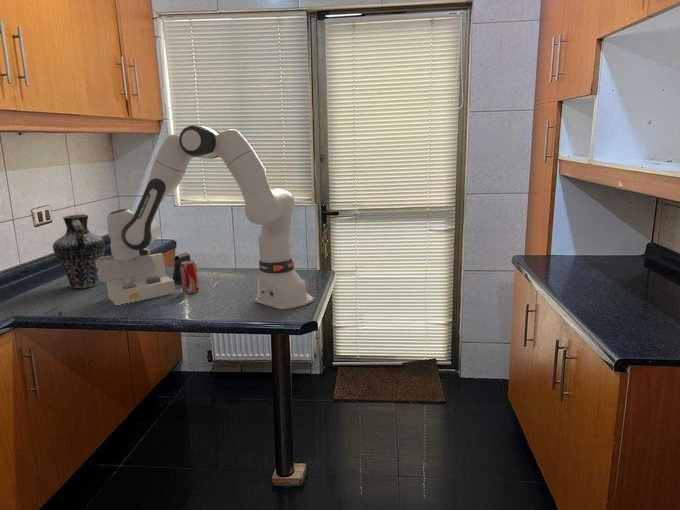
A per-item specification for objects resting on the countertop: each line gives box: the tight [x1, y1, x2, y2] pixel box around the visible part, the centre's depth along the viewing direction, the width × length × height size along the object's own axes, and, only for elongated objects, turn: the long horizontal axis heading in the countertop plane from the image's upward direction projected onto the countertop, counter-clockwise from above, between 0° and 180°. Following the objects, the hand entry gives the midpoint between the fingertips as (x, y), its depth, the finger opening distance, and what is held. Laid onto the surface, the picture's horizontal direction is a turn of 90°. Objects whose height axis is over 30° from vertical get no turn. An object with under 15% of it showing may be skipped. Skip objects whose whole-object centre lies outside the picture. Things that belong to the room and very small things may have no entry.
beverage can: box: [180, 260, 200, 294], centre depth 199 cm, size 6×6×12 cm
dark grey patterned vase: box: [52, 213, 106, 289], centre depth 213 cm, size 21×19×30 cm
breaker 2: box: [147, 276, 160, 284], centre depth 199 cm, size 4×4×4 cm
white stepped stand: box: [105, 252, 177, 306], centre depth 197 cm, size 12×22×14 cm, turn 126°
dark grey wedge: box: [172, 252, 199, 286], centre depth 212 cm, size 9×6×12 cm, turn 64°
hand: (129, 288), depth 193 cm, fingers closed, pressing on breaker 1
